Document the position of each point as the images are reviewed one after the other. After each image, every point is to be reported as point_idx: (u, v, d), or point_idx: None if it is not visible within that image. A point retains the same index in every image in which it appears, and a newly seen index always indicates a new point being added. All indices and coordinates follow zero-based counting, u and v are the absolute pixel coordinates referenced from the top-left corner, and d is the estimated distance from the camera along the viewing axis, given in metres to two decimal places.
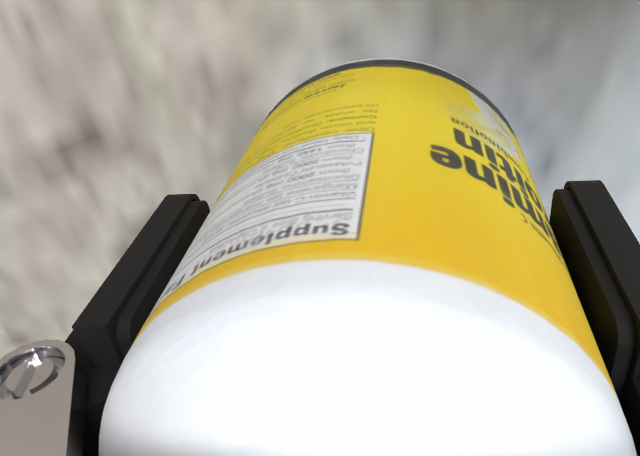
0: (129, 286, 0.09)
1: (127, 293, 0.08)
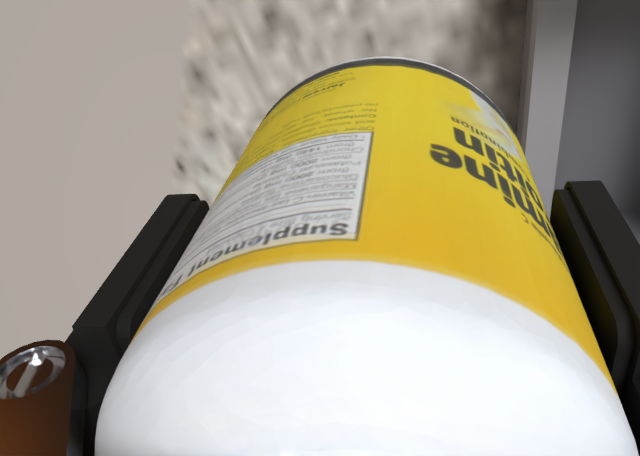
0: (129, 286, 0.09)
1: (127, 293, 0.08)
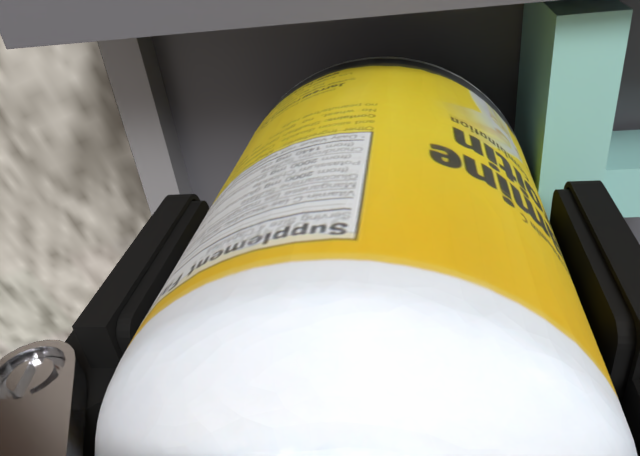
0: (129, 286, 0.09)
1: (127, 293, 0.08)
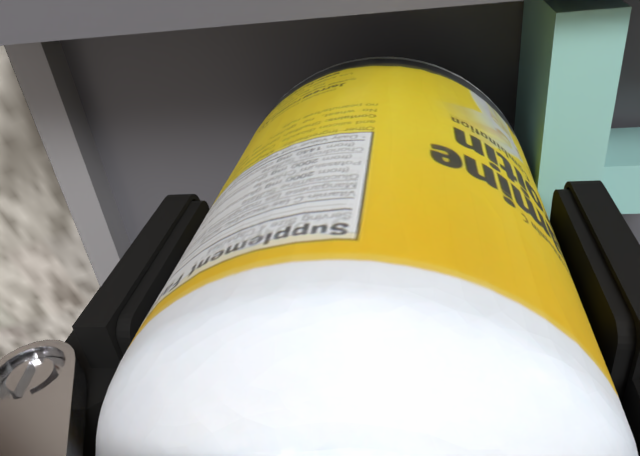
0: (129, 286, 0.09)
1: (127, 293, 0.08)
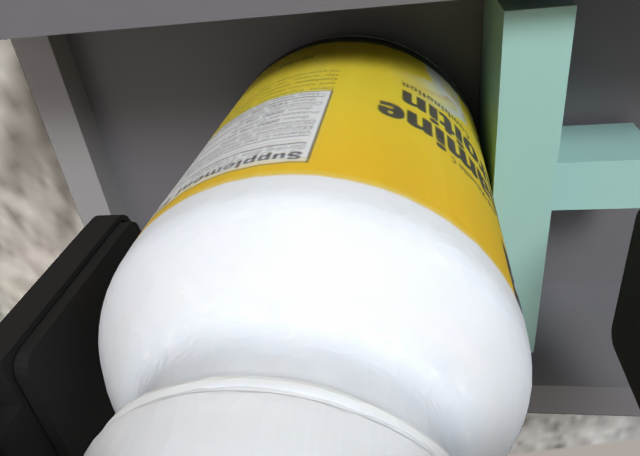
0: (34, 318, 0.08)
1: (29, 325, 0.08)
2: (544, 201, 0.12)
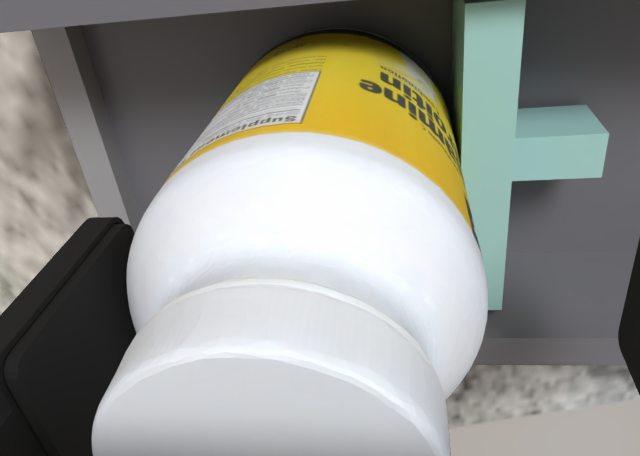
0: (25, 321, 0.08)
1: (20, 330, 0.08)
2: (505, 170, 0.14)
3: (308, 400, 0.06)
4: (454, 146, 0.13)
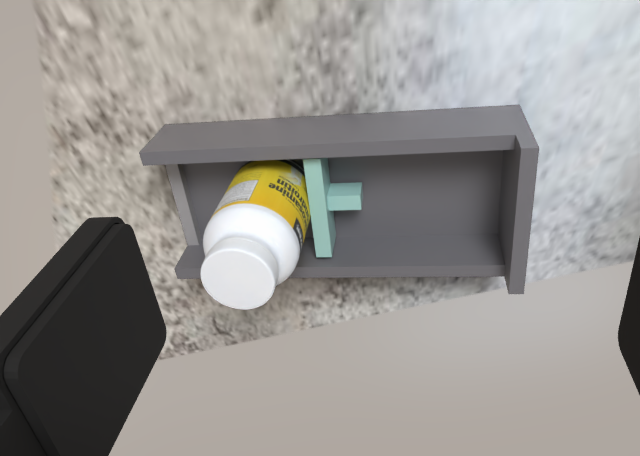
0: (25, 321, 0.08)
1: (20, 330, 0.08)
2: (324, 207, 0.41)
3: (243, 259, 0.33)
4: (303, 201, 0.40)
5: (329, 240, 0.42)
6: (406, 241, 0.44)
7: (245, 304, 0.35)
